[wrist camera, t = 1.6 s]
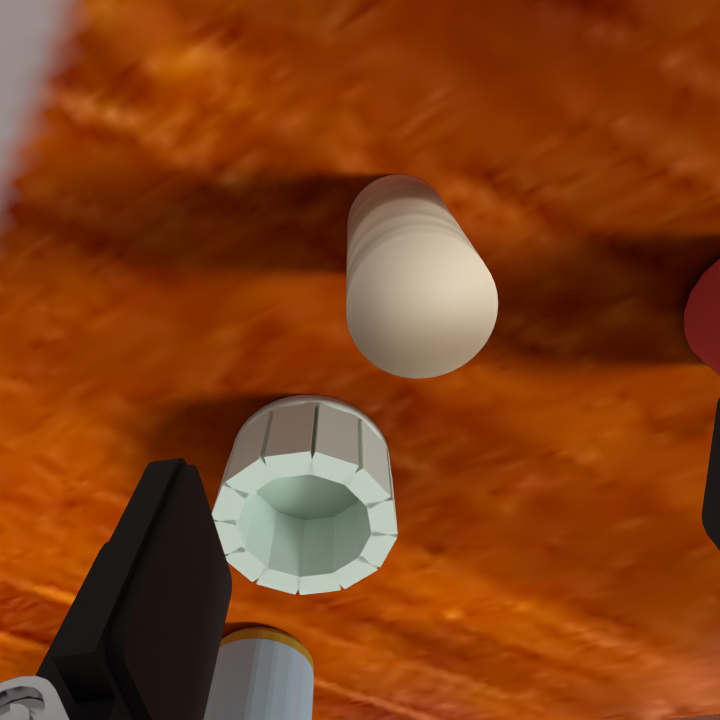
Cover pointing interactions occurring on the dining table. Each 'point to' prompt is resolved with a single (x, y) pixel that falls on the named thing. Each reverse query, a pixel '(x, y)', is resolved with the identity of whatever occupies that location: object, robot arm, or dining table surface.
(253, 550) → the cup
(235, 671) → the bottle
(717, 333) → the beer can
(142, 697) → the robot arm
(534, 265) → the dining table surface
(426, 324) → the plug
